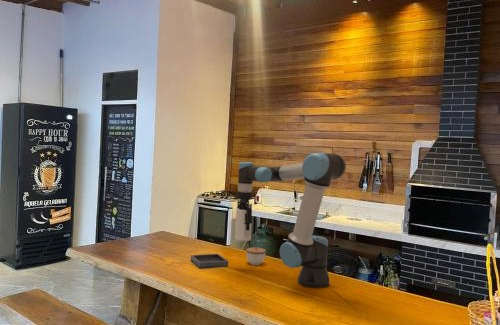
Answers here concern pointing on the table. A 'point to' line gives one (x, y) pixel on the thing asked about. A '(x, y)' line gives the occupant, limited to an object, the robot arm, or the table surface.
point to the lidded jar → (255, 255)
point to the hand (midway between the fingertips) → (243, 234)
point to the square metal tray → (209, 261)
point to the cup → (241, 226)
